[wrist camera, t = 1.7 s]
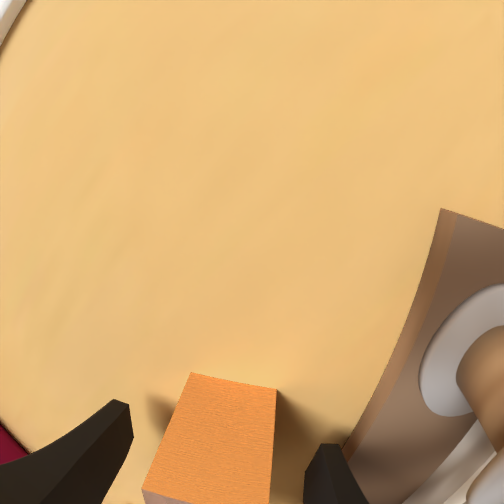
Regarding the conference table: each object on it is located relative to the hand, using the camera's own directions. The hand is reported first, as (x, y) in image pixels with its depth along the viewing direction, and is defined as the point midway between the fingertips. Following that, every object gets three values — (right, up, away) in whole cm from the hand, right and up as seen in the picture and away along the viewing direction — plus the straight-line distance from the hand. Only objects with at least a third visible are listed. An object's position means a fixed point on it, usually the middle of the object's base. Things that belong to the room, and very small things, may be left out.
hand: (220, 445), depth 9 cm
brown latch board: (+12, -3, +1) cm, 12 cm away
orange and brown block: (0, 0, +1) cm, 2 cm away
